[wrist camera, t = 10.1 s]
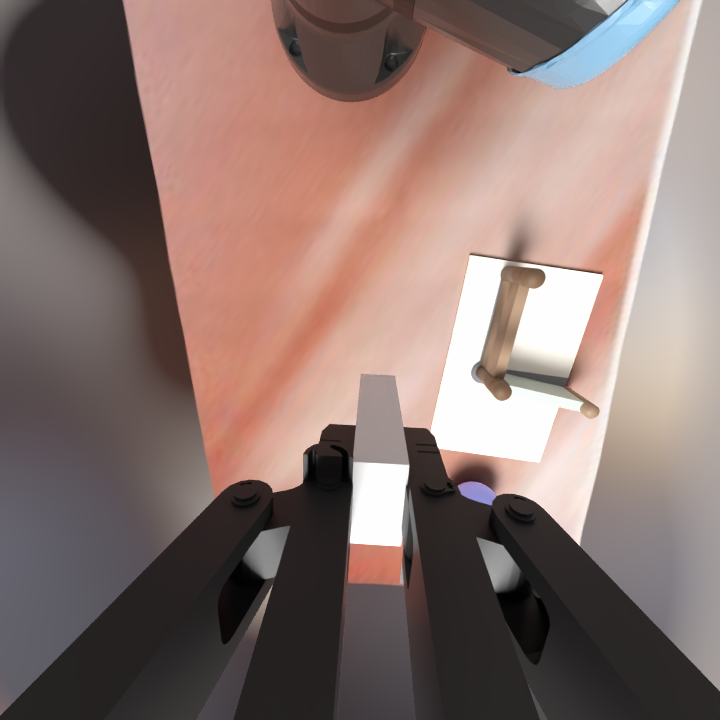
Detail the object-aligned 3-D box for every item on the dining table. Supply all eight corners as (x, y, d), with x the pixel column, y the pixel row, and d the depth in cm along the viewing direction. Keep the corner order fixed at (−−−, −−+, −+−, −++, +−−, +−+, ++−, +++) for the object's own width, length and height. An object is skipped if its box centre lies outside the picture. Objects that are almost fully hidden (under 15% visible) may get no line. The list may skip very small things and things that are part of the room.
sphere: (434, 489, 51) (443, 524, 45) (472, 462, 50) (488, 495, 43) (462, 518, 53) (476, 557, 46) (501, 493, 51) (520, 529, 45)
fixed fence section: (502, 264, 41) (528, 267, 35) (519, 266, 41) (548, 269, 35) (473, 378, 46) (491, 399, 39) (488, 380, 46) (509, 402, 39)
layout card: (469, 255, 41) (470, 255, 41) (601, 274, 42) (604, 274, 41) (426, 445, 49) (427, 447, 49) (538, 460, 49) (539, 462, 49)
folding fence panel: (491, 380, 45) (508, 399, 39) (495, 369, 45) (513, 387, 39) (567, 398, 45) (595, 419, 40) (572, 387, 45) (601, 407, 39)
